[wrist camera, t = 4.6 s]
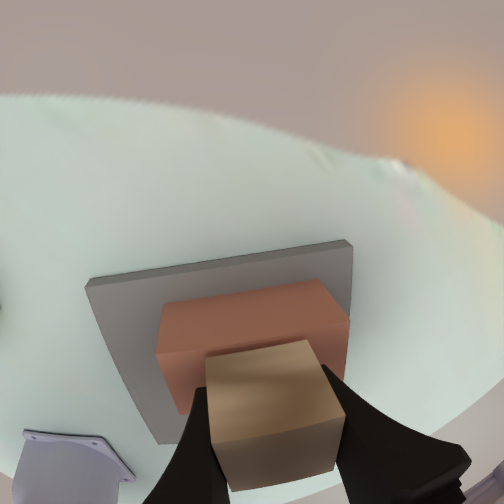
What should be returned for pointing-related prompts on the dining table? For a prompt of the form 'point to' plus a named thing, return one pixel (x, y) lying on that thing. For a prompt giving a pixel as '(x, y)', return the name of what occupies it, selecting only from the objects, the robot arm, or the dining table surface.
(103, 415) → the dining table surface
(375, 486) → the robot arm
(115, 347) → the building plate
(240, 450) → the beech cube
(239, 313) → the terracotta brick
